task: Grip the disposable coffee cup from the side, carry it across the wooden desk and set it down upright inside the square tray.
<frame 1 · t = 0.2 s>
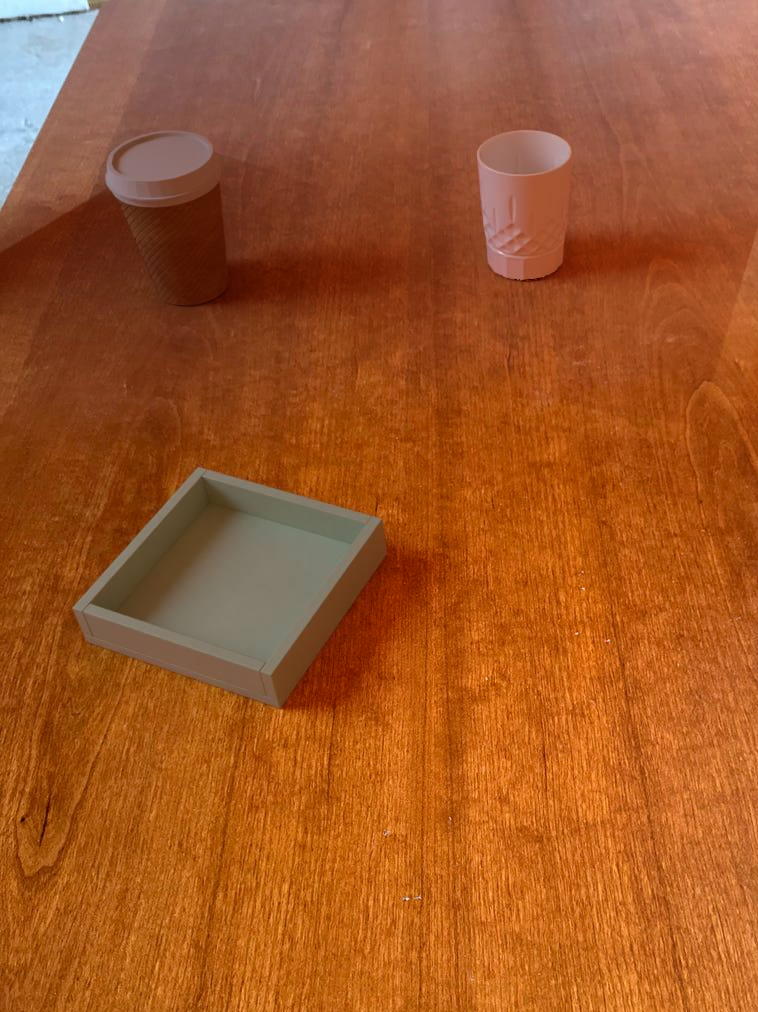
disposable coffee cup: (193, 288, 104), on the table
white cup: (525, 262, 105), on the table
square tray: (241, 596, 79), on the table
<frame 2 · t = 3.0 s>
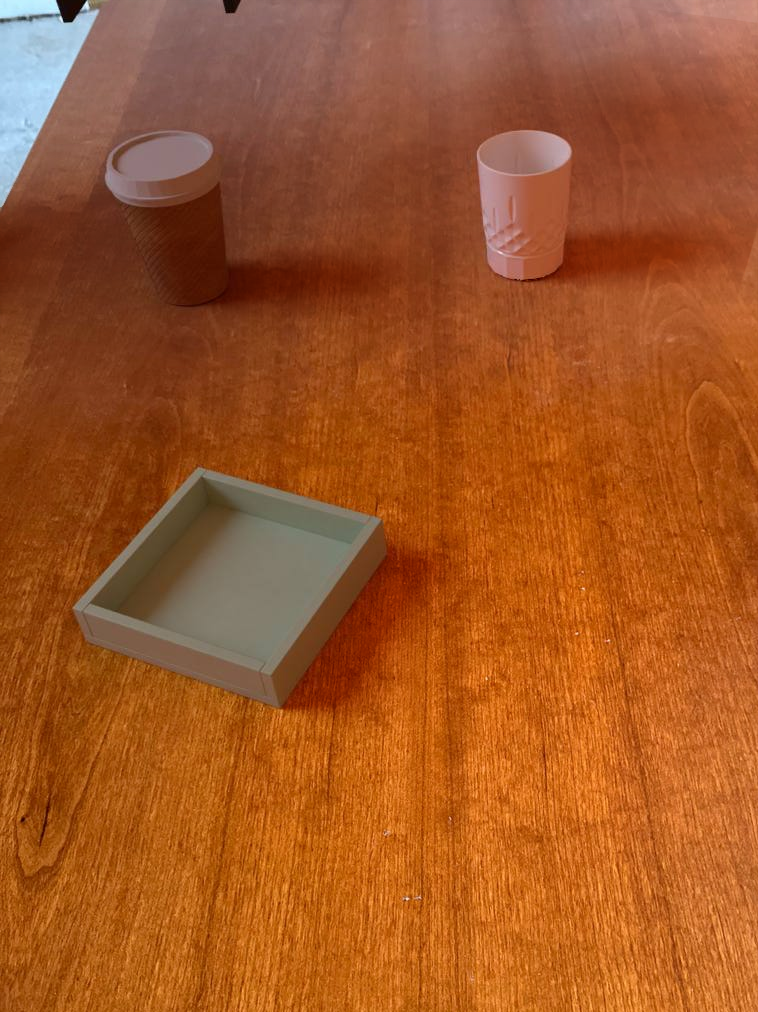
hand: (143, 0, 94), 21 cm above the table, tool horizontal, fingers open, 13 cm apart
nothing on the table moved.
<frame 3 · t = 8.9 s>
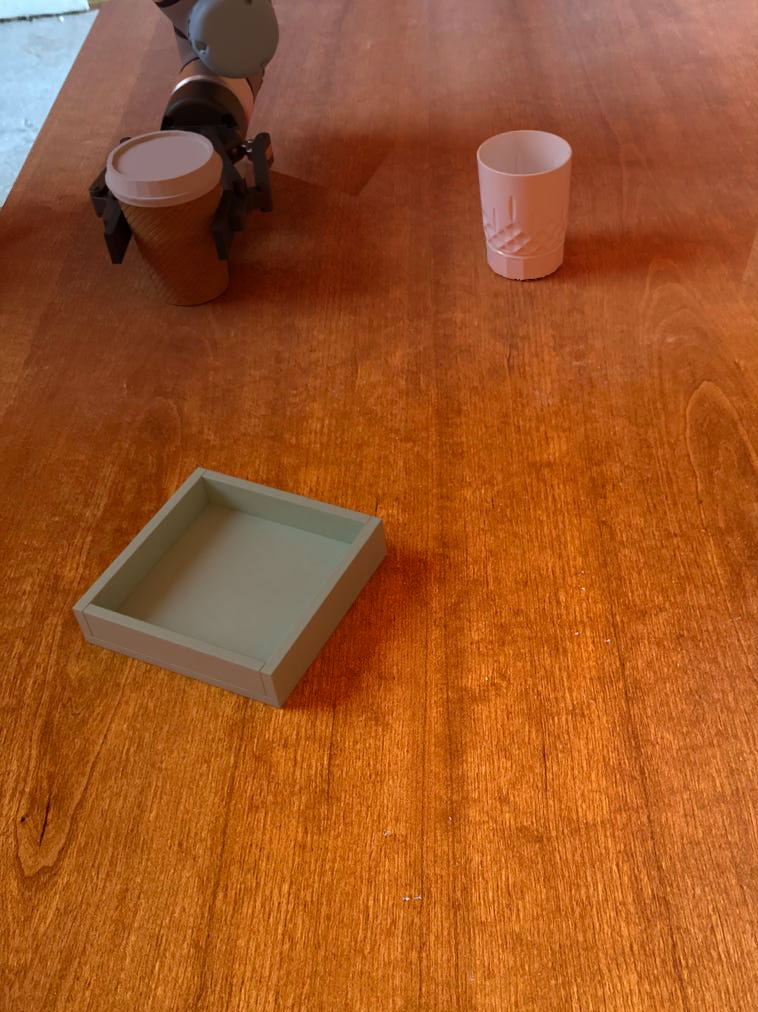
hand: (166, 247, 96), 7 cm above the table, tool horizontal, fingers closed on disposable coffee cup, 8 cm apart
disposable coffee cup: (193, 288, 104), on the table, touching gripper
everything else where it was.
when the fingers open (7 cm above the table, at t = 19.5 s): disposable coffee cup stays where it is, resting on square tray.
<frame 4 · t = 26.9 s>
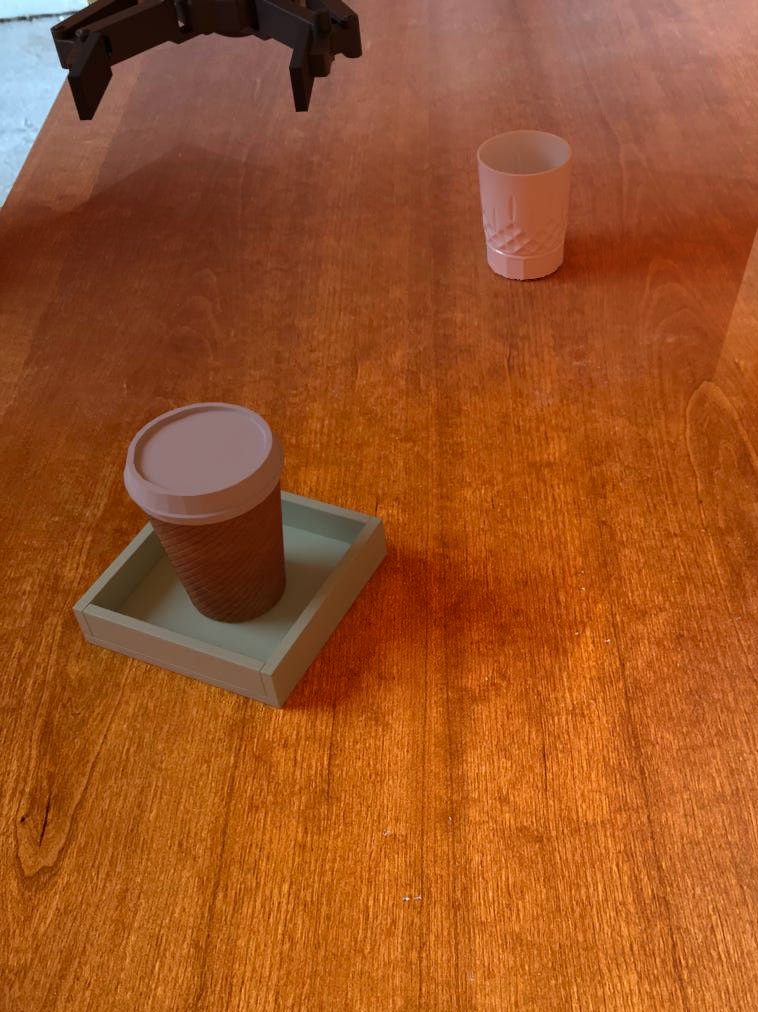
hand: (188, 94, 73), 25 cm above the table, tool horizontal, fingers open, 13 cm apart
disposable coffee cup: (239, 590, 79), point 1 cm above the table, touching square tray
everything else where it was.
at the end: disposable coffee cup 0.0 cm off-centre in the square tray, point 0.6 cm above the square tray's base; disposable coffee cup tilted 0°; the gripper is holding nothing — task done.
